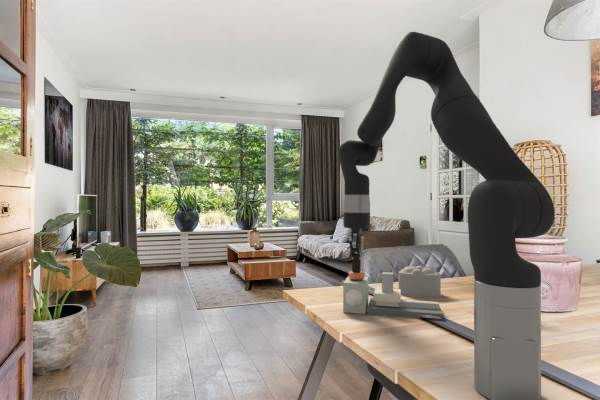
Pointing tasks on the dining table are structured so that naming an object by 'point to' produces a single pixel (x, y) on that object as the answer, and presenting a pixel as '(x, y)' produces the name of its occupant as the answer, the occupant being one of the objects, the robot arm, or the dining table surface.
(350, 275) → the button
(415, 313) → the rail board
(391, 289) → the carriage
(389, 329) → the dining table surface
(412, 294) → the grey lumpy-topped block
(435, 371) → the dining table surface
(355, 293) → the end cabinet
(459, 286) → the dining table surface
